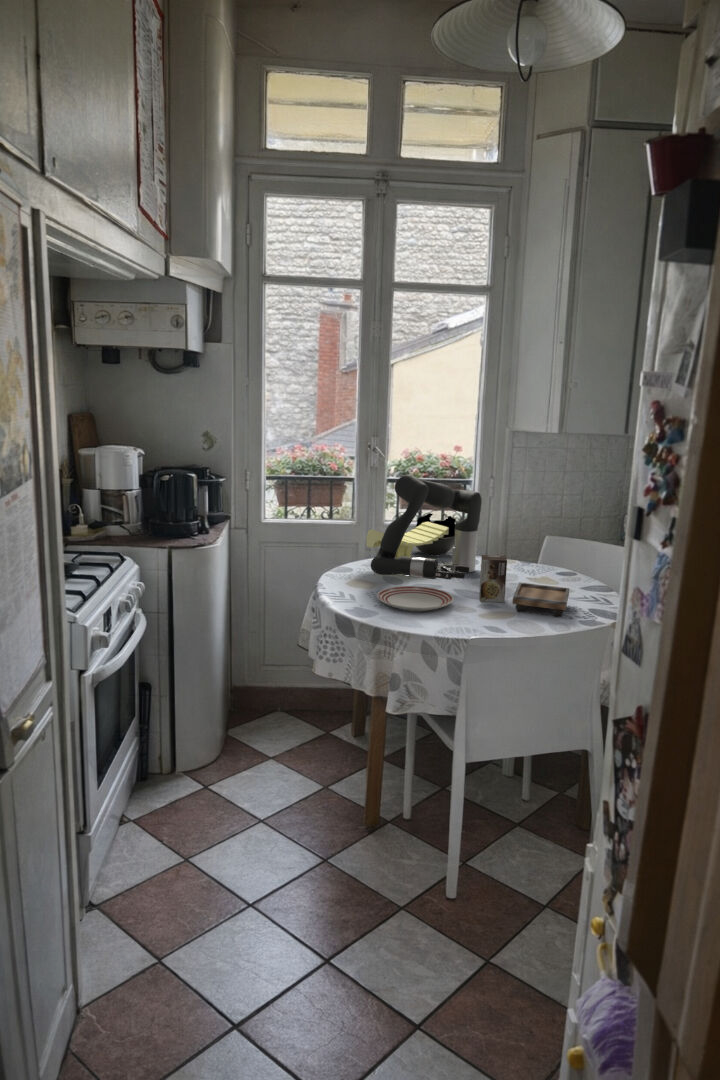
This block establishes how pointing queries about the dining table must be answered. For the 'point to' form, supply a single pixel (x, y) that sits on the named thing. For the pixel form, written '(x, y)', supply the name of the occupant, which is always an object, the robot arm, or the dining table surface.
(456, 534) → the robot arm
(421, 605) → the dinner plate
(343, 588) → the dining table surface
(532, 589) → the caster dolly
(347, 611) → the dining table surface
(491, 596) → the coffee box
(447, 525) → the coal bowl
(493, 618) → the dining table surface
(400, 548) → the slatted curved stool
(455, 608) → the dining table surface
